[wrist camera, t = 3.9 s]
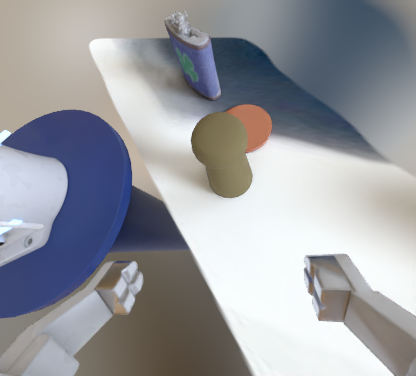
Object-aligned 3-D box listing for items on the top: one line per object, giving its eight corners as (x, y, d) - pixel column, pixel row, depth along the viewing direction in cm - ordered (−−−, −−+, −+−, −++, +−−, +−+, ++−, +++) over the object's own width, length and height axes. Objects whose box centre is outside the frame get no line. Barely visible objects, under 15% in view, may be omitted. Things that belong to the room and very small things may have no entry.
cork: (200, 175, 27) (169, 130, 16) (233, 149, 27) (221, 89, 17) (226, 207, 24) (208, 177, 14) (262, 178, 24) (269, 129, 14)
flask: (224, 94, 30) (210, 18, 20) (210, 105, 30) (189, 35, 20) (192, 68, 34) (167, -7, 24) (180, 78, 34) (150, 7, 24)
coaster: (237, 163, 26) (237, 161, 25) (207, 127, 29) (206, 125, 28) (283, 130, 26) (284, 128, 25) (248, 98, 29) (248, 95, 28)
